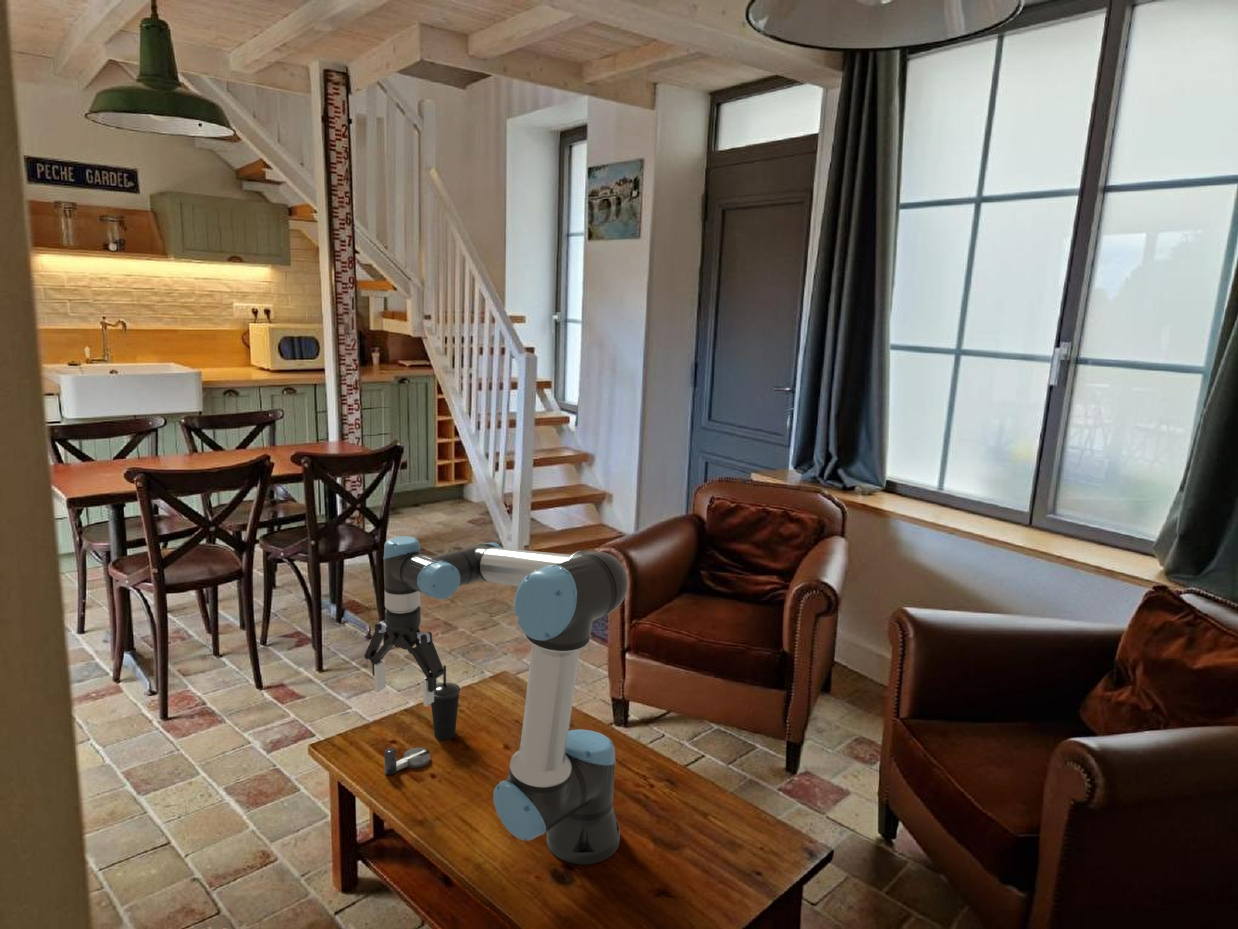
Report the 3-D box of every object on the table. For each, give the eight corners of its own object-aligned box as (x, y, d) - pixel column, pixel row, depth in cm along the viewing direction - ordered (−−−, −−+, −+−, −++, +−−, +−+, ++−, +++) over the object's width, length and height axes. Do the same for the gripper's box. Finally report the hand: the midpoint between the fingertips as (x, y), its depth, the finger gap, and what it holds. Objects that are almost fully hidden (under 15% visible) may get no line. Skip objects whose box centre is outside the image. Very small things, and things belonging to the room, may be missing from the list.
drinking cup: (426, 735, 201) (425, 661, 197) (456, 729, 204) (456, 657, 200) (432, 750, 194) (432, 675, 190) (463, 744, 197) (463, 670, 193)
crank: (420, 750, 191) (420, 730, 190) (434, 761, 187) (434, 739, 186) (378, 769, 183) (378, 748, 182) (392, 780, 179) (392, 758, 178)
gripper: (460, 612, 171) (460, 702, 175) (370, 591, 181) (372, 677, 186) (438, 624, 165) (439, 717, 169) (346, 601, 175) (349, 690, 179)
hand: (404, 696), depth 177 cm, fingers open, 13 cm apart
